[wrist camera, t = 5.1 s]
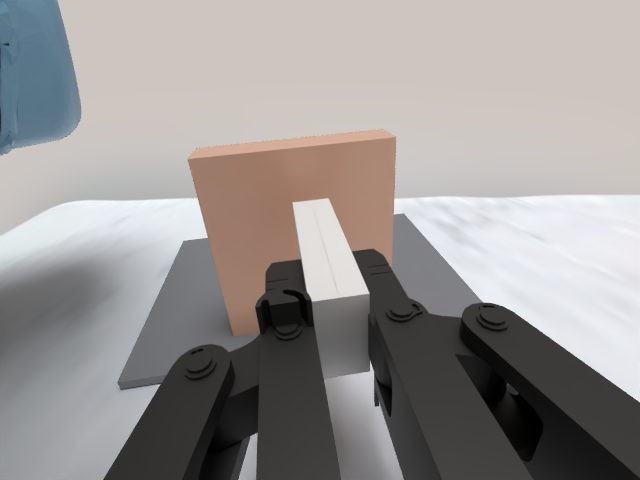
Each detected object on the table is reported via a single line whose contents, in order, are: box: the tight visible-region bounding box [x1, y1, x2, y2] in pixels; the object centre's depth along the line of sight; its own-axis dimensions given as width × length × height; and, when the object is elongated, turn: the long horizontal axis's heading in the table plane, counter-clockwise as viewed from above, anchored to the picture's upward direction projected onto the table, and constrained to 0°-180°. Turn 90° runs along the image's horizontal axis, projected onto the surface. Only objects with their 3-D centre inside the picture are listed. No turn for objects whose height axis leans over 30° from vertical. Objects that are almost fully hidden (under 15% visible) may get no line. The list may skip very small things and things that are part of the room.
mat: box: [117, 214, 483, 389], centre depth 24 cm, size 20×15×1 cm
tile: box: [188, 129, 396, 337], centre depth 18 cm, size 9×2×10 cm, turn 98°
